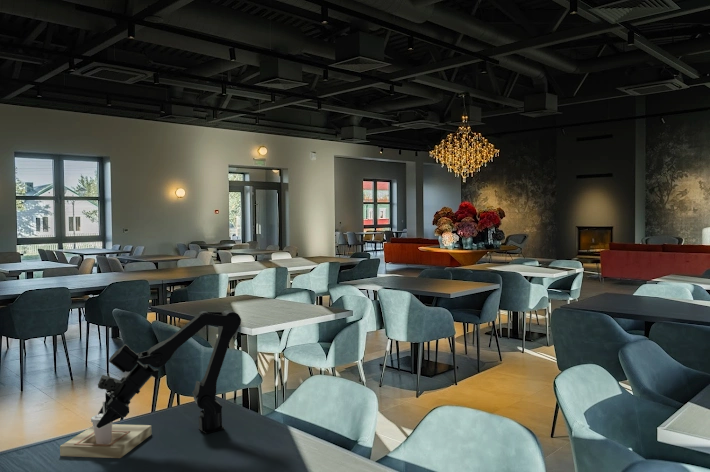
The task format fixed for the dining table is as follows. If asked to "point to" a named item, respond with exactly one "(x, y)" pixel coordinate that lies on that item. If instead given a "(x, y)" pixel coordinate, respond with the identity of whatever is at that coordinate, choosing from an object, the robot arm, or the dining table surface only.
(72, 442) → the socket board
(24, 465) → the dining table surface
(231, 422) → the dining table surface
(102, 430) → the smoothie
